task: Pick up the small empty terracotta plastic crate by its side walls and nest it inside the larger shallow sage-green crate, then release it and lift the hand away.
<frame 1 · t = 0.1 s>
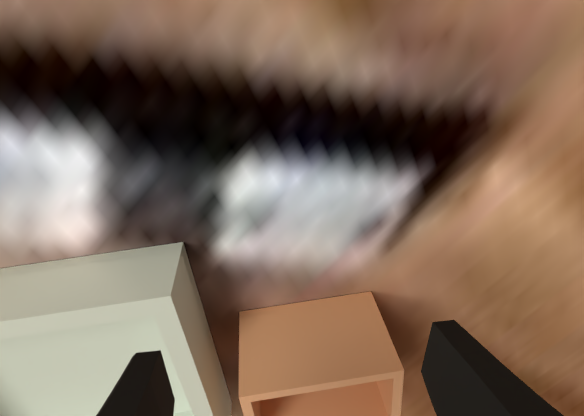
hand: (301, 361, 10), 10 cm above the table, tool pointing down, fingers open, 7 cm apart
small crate: (308, 330, 24), on the table
big crate: (78, 355, 23), on the table
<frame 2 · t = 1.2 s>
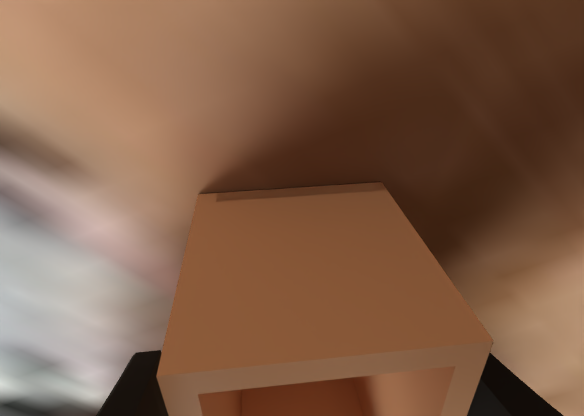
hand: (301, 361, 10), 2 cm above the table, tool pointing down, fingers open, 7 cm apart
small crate: (294, 297, 12), on the table
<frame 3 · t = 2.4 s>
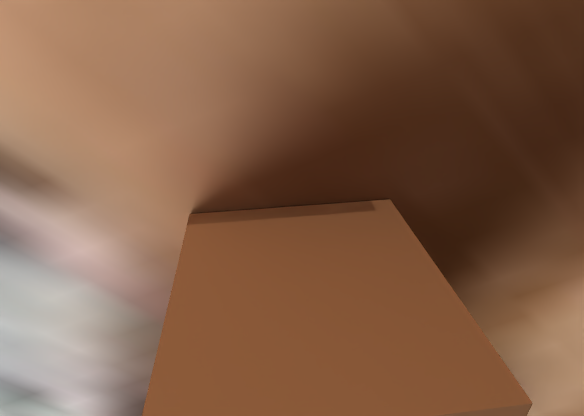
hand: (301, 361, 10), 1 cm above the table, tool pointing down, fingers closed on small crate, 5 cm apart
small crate: (294, 321, 11), on the table, touching gripper
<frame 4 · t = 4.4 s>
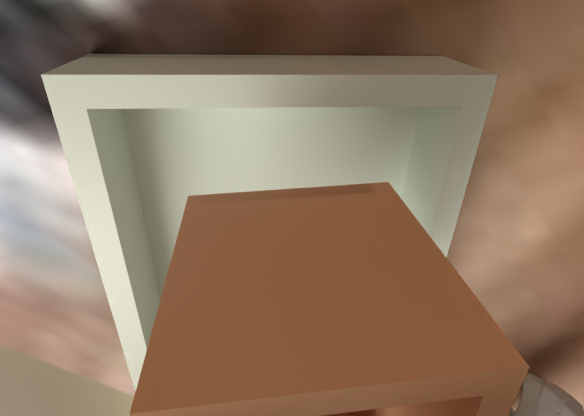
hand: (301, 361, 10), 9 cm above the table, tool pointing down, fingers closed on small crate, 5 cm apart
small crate: (293, 307, 11), point 8 cm above the table, touching gripper
big crate: (275, 224, 19), on the table
mug: (471, 392, 29), on the table
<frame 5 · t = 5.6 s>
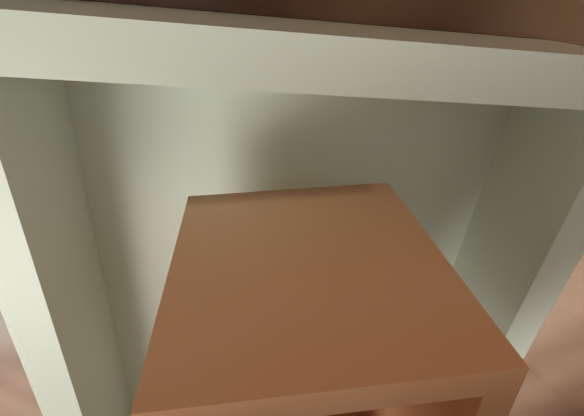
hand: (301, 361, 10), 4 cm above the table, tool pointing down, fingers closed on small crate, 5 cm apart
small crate: (293, 307, 11), point 3 cm above the table, touching gripper
big crate: (285, 263, 14), on the table
when the fingers open (4 cm above the table, at t = 6.5 s): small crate drops 2 cm, resting on big crate.
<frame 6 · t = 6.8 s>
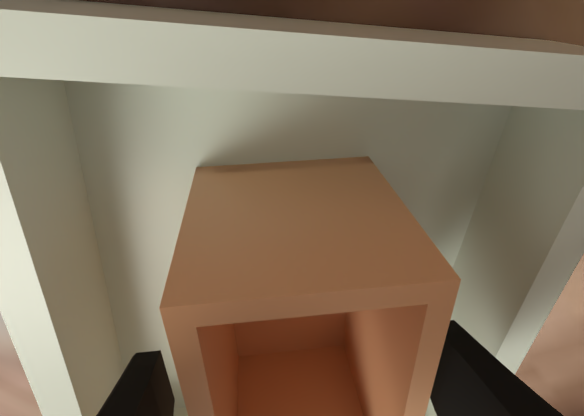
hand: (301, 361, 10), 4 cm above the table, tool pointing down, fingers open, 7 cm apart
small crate: (287, 269, 13), point 1 cm above the table, touching big crate
big crate: (285, 263, 14), on the table
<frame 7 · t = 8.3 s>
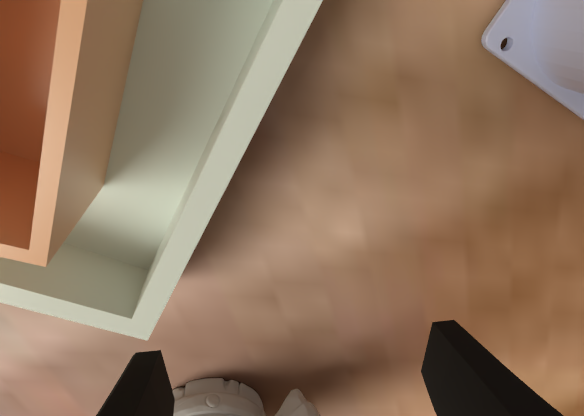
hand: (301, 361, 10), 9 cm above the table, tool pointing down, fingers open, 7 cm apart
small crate: (50, 72, 14), point 1 cm above the table, touching big crate
big crate: (58, 77, 15), on the table
mug: (237, 396, 26), on the table
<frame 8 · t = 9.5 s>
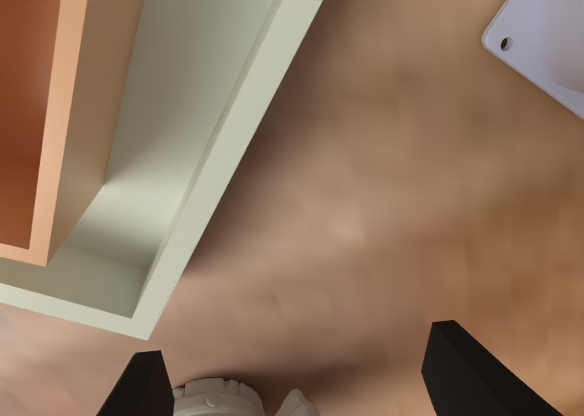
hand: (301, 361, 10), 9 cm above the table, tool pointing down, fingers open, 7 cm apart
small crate: (50, 71, 14), point 1 cm above the table, touching big crate
big crate: (58, 76, 15), on the table
mug: (237, 396, 26), on the table
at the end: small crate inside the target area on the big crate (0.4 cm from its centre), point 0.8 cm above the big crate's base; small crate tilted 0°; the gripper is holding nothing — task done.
